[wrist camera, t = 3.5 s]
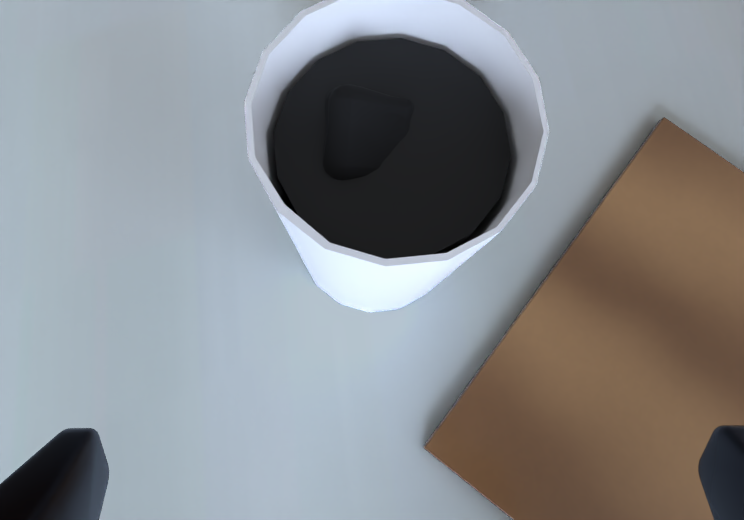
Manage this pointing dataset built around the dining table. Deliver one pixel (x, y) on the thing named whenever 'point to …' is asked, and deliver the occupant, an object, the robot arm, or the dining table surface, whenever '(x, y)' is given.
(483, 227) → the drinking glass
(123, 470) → the dining table surface
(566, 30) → the dining table surface
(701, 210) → the glossy brown placemat
